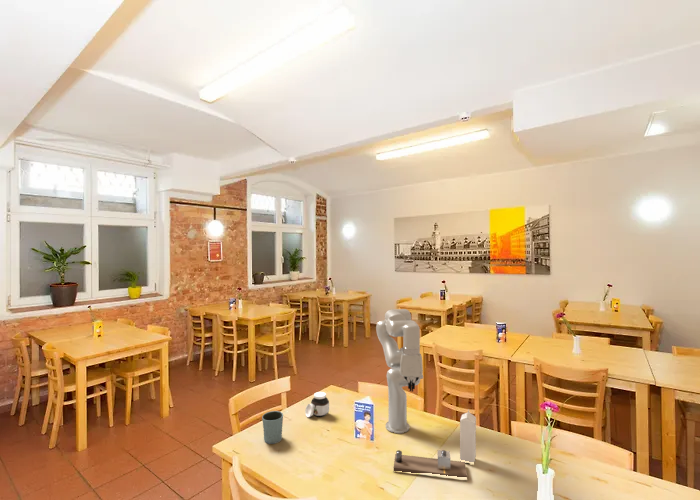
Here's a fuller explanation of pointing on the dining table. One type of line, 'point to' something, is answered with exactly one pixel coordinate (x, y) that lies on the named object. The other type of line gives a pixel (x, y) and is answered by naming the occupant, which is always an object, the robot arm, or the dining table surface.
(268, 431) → the blue-grey cup
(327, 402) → the spread jar
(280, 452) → the dining table surface
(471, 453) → the milk
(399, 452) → the fixed leg
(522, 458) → the dining table surface
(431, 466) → the board
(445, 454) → the sliding leg
